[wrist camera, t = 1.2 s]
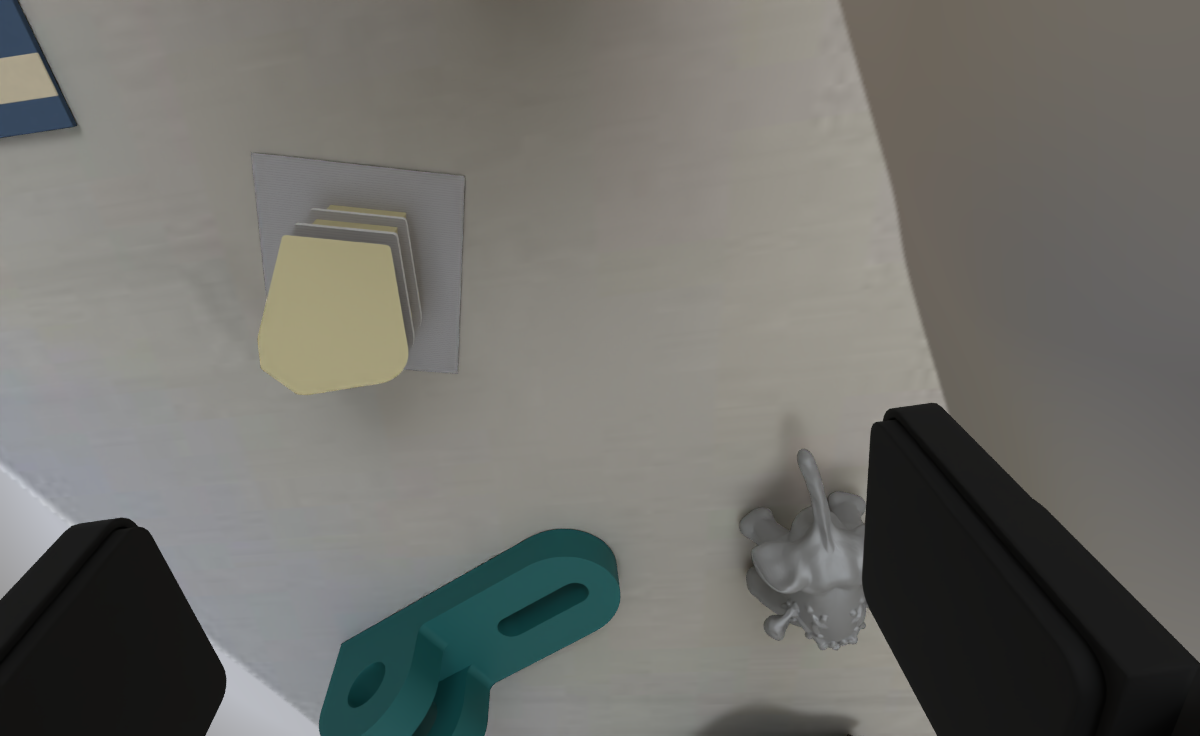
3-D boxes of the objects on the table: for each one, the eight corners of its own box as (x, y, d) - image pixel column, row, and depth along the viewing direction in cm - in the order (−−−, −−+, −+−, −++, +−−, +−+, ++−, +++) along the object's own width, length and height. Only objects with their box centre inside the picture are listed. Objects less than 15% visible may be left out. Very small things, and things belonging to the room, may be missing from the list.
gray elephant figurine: (761, 597, 45) (800, 705, 38) (670, 475, 40) (696, 575, 33) (895, 532, 43) (960, 634, 36) (818, 395, 38) (877, 484, 31)
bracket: (412, 697, 47) (390, 819, 40) (341, 643, 44) (304, 765, 37) (637, 578, 43) (655, 691, 36) (576, 511, 40) (582, 620, 33)
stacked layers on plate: (251, 152, 30) (194, 184, 25) (464, 175, 31) (450, 211, 26) (273, 359, 34) (229, 420, 29) (457, 373, 35) (444, 434, 31)
